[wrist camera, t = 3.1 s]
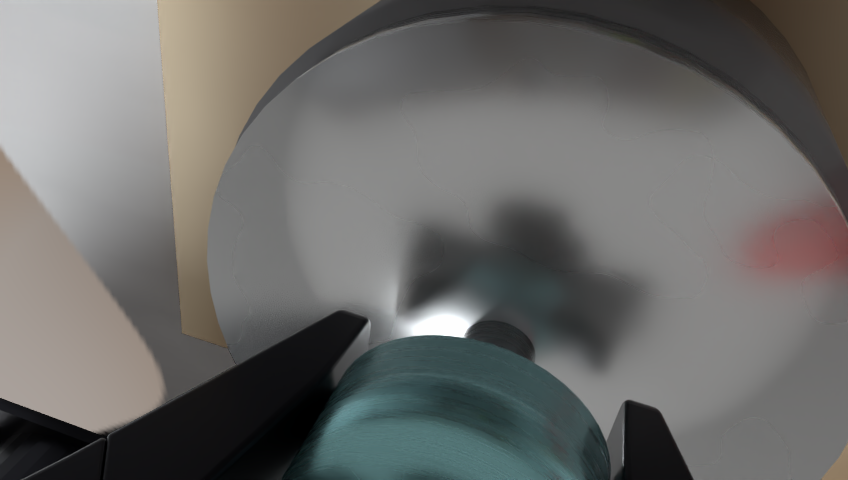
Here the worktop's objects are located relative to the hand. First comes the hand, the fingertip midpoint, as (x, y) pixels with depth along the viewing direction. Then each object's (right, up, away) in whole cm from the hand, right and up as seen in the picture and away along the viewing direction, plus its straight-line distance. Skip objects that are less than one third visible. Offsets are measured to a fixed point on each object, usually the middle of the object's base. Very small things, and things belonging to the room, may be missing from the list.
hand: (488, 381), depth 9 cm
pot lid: (0, +1, +1) cm, 1 cm away
